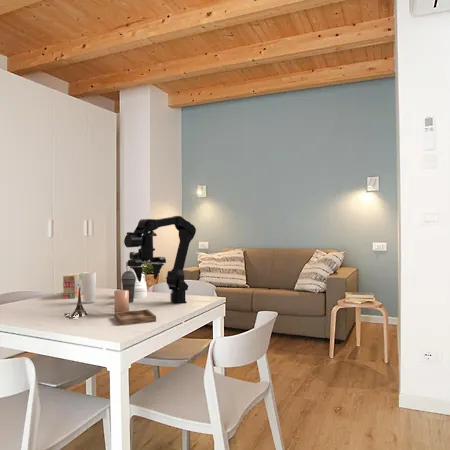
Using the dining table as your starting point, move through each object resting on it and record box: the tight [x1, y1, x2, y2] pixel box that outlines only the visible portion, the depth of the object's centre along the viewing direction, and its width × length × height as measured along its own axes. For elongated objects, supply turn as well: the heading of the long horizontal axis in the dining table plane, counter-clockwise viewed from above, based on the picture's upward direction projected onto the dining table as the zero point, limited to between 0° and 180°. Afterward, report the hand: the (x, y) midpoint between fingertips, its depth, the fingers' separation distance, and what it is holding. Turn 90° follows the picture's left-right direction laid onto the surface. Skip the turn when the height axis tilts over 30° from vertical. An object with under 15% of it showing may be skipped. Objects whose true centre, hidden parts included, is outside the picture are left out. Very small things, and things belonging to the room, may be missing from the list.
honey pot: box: [121, 267, 148, 300], centre depth 215 cm, size 13×13×18 cm
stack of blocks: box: [62, 272, 83, 300], centre depth 221 cm, size 21×6×12 cm, turn 179°
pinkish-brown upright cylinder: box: [113, 289, 130, 314], centre depth 172 cm, size 6×6×10 cm
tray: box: [113, 309, 157, 326], centre depth 162 cm, size 14×14×2 cm
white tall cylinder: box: [81, 271, 97, 304], centre depth 199 cm, size 7×7×15 cm
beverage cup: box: [120, 261, 136, 304], centre depth 199 cm, size 7×7×20 cm
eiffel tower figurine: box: [64, 285, 89, 320], centre depth 170 cm, size 15×10×13 cm
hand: (147, 280), depth 184 cm, fingers open, 9 cm apart
